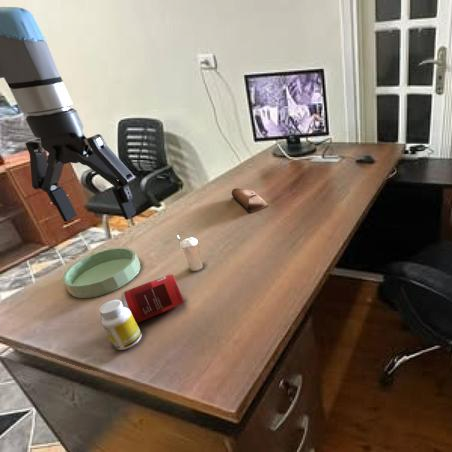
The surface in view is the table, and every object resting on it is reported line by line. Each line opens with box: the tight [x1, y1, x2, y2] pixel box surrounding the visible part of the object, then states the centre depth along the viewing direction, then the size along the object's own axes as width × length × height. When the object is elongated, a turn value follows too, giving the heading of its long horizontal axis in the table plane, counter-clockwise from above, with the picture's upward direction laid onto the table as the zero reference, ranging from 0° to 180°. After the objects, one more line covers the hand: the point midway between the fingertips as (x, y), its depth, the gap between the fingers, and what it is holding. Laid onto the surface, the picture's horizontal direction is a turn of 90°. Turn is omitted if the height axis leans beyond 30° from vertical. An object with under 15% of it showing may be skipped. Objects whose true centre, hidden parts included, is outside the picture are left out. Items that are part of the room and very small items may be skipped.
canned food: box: [121, 274, 185, 324], centre depth 81 cm, size 8×8×11 cm
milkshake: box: [176, 235, 204, 272], centre depth 95 cm, size 4×5×10 cm
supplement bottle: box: [99, 299, 143, 351], centre depth 73 cm, size 5×5×10 cm
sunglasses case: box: [231, 188, 269, 213], centre depth 132 cm, size 18×7×7 cm
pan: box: [61, 246, 141, 299], centre depth 96 cm, size 18×18×4 cm
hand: (100, 217), depth 72 cm, fingers open, 13 cm apart
